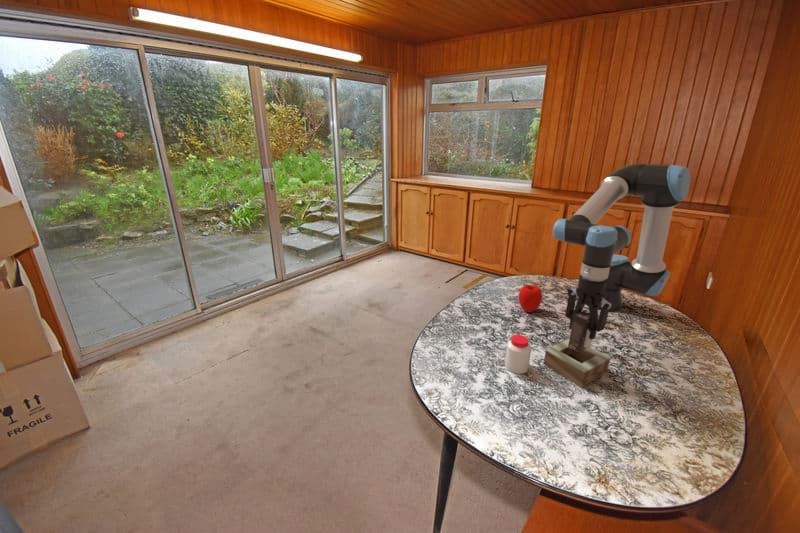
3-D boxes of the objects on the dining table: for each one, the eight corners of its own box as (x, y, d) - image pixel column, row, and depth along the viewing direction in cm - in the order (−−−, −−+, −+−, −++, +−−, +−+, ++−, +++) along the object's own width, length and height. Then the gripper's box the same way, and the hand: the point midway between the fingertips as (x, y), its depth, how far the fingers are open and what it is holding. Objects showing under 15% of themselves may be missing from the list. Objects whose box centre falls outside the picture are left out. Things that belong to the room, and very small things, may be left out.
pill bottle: (511, 356, 124) (515, 330, 120) (532, 366, 119) (536, 339, 115) (500, 366, 119) (503, 339, 115) (521, 377, 114) (525, 348, 110)
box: (580, 353, 111) (586, 319, 107) (567, 346, 115) (572, 314, 111) (591, 347, 114) (597, 314, 110) (578, 340, 118) (583, 309, 114)
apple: (530, 303, 162) (534, 279, 158) (545, 313, 153) (549, 288, 149) (512, 307, 159) (515, 282, 155) (526, 317, 150) (529, 291, 146)
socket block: (568, 351, 127) (571, 337, 125) (606, 372, 116) (610, 357, 113) (543, 363, 120) (546, 349, 118) (581, 387, 109) (584, 371, 107)
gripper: (560, 270, 111) (549, 333, 119) (615, 289, 97) (599, 359, 105) (574, 265, 114) (563, 327, 123) (629, 284, 100) (612, 352, 109)
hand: (579, 342), depth 114 cm, fingers closed on box, 4 cm apart
